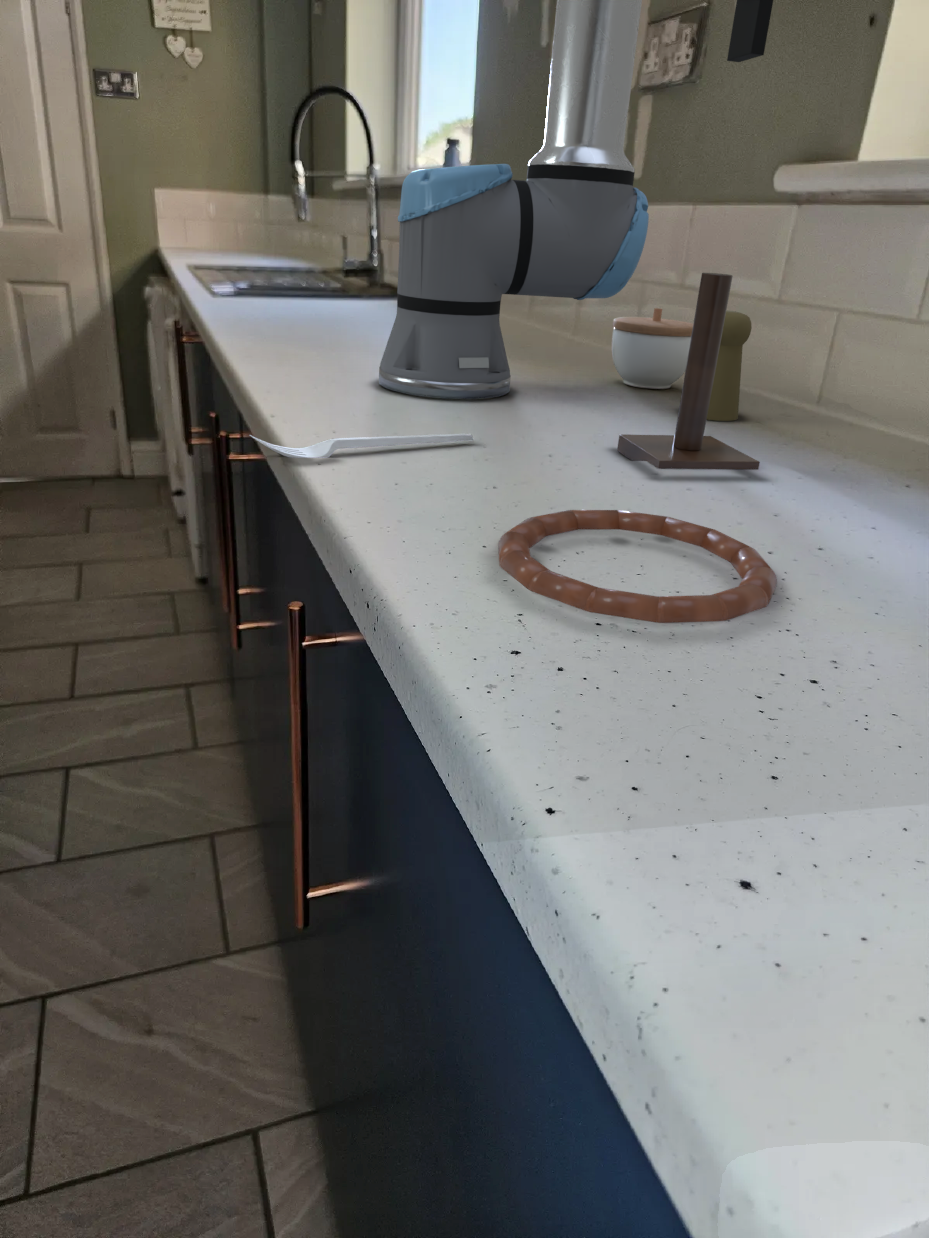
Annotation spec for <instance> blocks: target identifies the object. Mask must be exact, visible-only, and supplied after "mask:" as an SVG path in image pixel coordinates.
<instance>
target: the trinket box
mask: <svg viewBox="0 0 929 1238" xmlns="http://www.w3.org/2000/svg"><path fill="white" fill-rule="evenodd" d="M662 315H663V308H661V307H654V308H653V314H652V317H647V316H618V317H614V318H613V319H612V328H613V329H612V334H611V335H612V336H611V357H612V362H613V366H614V368H615V370H616V372H617V373H618V375H619V376H620V377H621V379H623V382H622V383H623V384H625V385H627V386H631V387H636V388H641V389H651V390H652V389H654V390H657V389H658V390H665V389H670V388H671V387H672V385H673V384H674V383H675V382H677V381H678V380H680V378H681V377H682V376H683V375H685V371H686V365H687V359H688V353H689V347H690V341H691V335H692V329H693V323H694V322H689V321H682V320H677V319H670V318H662Z"/></svg>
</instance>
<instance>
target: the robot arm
mask: <svg viewBox="0 0 929 1238" xmlns="http://www.w3.org/2000/svg"><path fill="white" fill-rule="evenodd" d="M642 4H643V0H556V7H555V8H556V9H555V20H554V30H553V41H552V49H551V52H552V53H551V61H550V62H551V63H550V74H549V84H548V95H547V106H546V118H545V126H544V127H545V128H544V139H543V145H542V147H541V149H540V150H539V151H538V152H537V153H536V154H534V156H533V157H532V158H531V159H529V160H528V164H527V172H526V180H520V179H513V175H514V174H513V171H512V168H511V166H510V164H509V163H493V164H492V163H491V164H489V163H488V164H474V165H459V166H457V165H456V166H447V167H446V166H445V167H433V168H424V169H423V168H422V169H417V170H413V171H411V172H409V174H407V175H406V176H405V178H404V180H403V182H402V184H401V194H400V207H399V214H398V216H397V221H398V223H399V235H398V237H399V238H398V240H399V241H398V270H397V293H396V294H397V297H396V298H397V299H396V315H395V319H394V322H393V325H392V328H391V331H390V334H389V336H388V339H387V343H386V346H385V348H384V351H383V354H382V357H381V360H380V363H379V366H378V367H379V369H378V383H379V385H380V386H381V387H383V388H385V389H388V390H389V391H393V392H396V393H397V392H398V393H402V394H405V395H411V396H417V397H424V398H425V397H426V398H435V399H447V400H449V399H450V400H478V399H480V400H481V399H490V398H499V397H501V396H504V395H507V394H508V393H510V389H511V376H512V375H511V370H510V365H509V361H508V357H507V352H506V347H505V342H504V338H503V333H502V329H501V323H500V317H501V316H500V315H501V304H502V303H501V302H502V297H503V295H513V296H529V297H530V296H532V297H549V298H550V297H551V298H566V299H573V300H577V301H583V300H585V299H609V298H612V297H614V296H616V295H617V294H618V293H620V292H621V291H622V290H623V289H624V288H625V287H626V286H627V284H628V282H629V281H630V279H631V278H632V277H633V275H634V273H635V271H636V269H637V267H638V264H639V262H640V260H641V257H642V254H643V251H644V248H645V245H646V244H645V243H646V240H647V234H648V228H649V220H650V219H649V217H650V215H649V212H648V209H649V202H648V199H647V198H648V197H647V196H646V194H645V193H644V192H643V191H641V190H640V189H639V188H638V187H634V181H635V171H636V169H635V167H634V166H633V164H632V163H631V162H630V160H629V158H628V157H627V156H626V153H625V150H624V149H625V148H624V147H625V140H626V132H627V124H628V116H629V109H630V101H631V100H630V99H631V92H632V84H633V75H634V68H635V62H636V61H635V60H636V52H637V43H638V35H639V28H640V22H641V21H640V20H641V12H642V6H643V5H642ZM773 5H774V0H736V4H735V8H734V16H733V21H732V27H731V34H730V39H729V46H728V52H727V58H726V61H727V62H733V63H741V62H745V61H748V60H752V59H754V58H759V57H761V56H764V55H765V49H766V43H767V40H768V39H767V38H768V32H769V27H770V21H771V16H772V10H773Z"/></svg>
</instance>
